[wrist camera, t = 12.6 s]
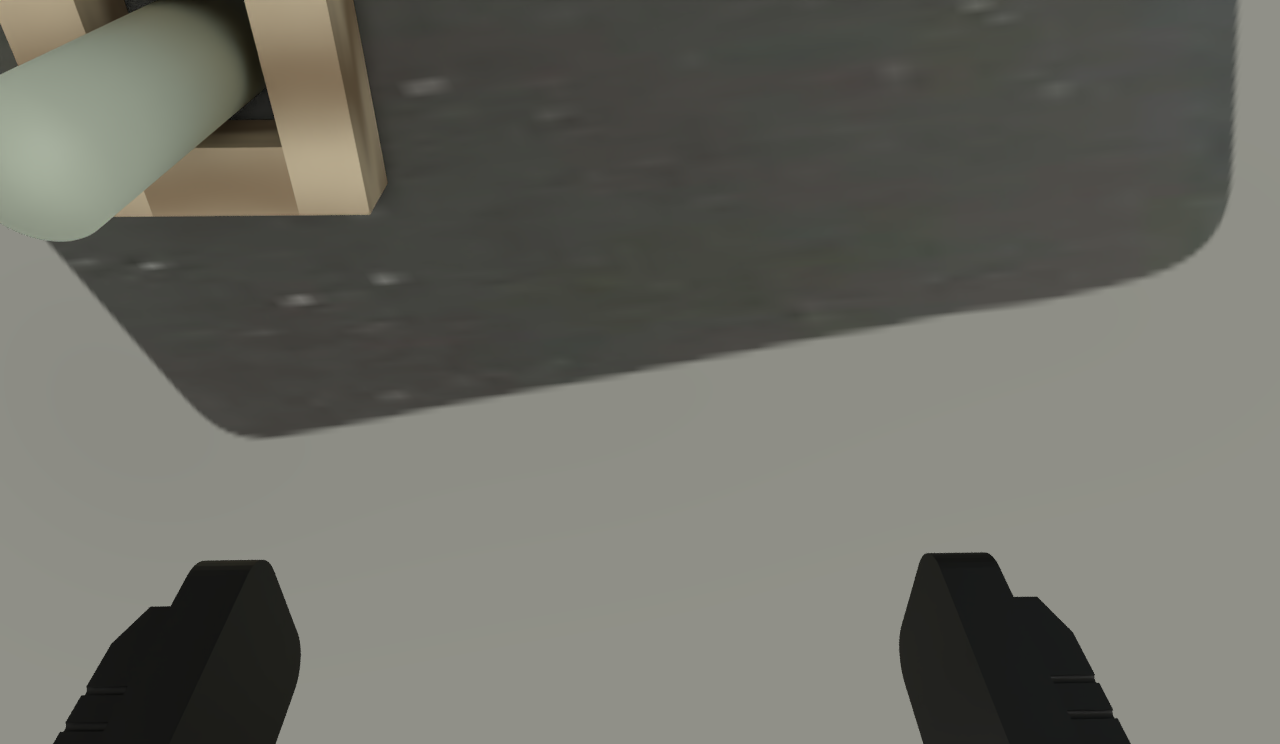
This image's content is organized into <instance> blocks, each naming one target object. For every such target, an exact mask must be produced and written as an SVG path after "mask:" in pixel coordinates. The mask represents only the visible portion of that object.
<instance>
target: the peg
mask: <svg viewBox="0 0 1280 744" xmlns="http://www.w3.org/2000/svg"><path fill="white" fill-rule="evenodd" d="M265 87H266V83H265V79H264V75H263V72H262V68H261V64H260V60H259V56H258V52H257V48H256V44H255V41H254V37H253V33H252V29H251V25H250V21H249V17H248V13H247V10H246V6H245V2H243V1H242V0H157V1H154V2H152V3H150V4H148V5H146V6H144V7H142V8H140V9H138V10H135V11H133V12H131V13H129V14H127V15H125V16H123V17H121V18H119V19H116V20H114V21H112V22H110V23H108V24H106V25H104V26H102V27H100V28H97V29H95V30H93V31H91V32H89V33H87V34H85V35H83V36H81V37H79V38H76V39H74V40H72V41H70V42H68V43H66V44H64V45H62V46H60V47H57V48H55V49H53V50H51V51H49V52H47V53H45V54H43V55H41V56H38V57H36V58H34V59H32V60H30V61H28V62H26V63H24V64H22V65H19V66H17V67H15V68H13V69H11V70H9V71H7V72H5V73H3V74H0V224H3V225H4V226H6V227H7V228H10V229H12V230H14V231H16V232H18V233H21V234H24V235H26V236H29V237H33V238H37V239H41V240H47V241H59V242H62V241H73V240H78V239H81V238H84V237H87V236H89V235H91V234H92V233H94V232H96V231H97V230H98V229H99V228H101V227H102V226H103V225H104V224H105V223H107V222H108V221H109V220H110V219H111V218H112V217H114V216H115V215H116V214H117V213H118V212H119V211H121V210H122V209H123V208H124V207H125V206H127V205H128V204H129V203H130V202H131V201H132V200H134V199H135V198H136V197H137V196H138V195H140V194H141V193H142V192H143V191H144V190H145V189H147V188H148V187H149V186H150V185H151V184H153V183H154V182H155V181H156V180H157V179H158V178H160V177H161V176H162V175H163V174H164V173H166V172H167V171H168V170H169V169H170V168H171V167H173V166H174V165H175V164H176V163H177V162H179V161H180V160H181V159H182V158H183V157H184V156H186V155H187V154H188V153H189V152H190V151H191V150H193V149H194V148H195V147H196V146H197V145H199V144H200V143H201V142H202V141H203V140H204V139H206V138H207V137H208V136H209V135H210V134H212V133H213V132H214V131H215V130H216V129H217V128H219V127H220V126H221V125H222V124H223V123H225V122H226V121H227V120H228V119H229V118H230V117H232V116H233V115H234V114H235V113H236V112H238V111H239V110H240V109H241V108H242V107H243V106H245V105H246V104H247V103H248V102H249V101H251V100H252V99H253V98H254V97H255V96H256V95H258V94H259V93H260V92H261V91H262V90H263V89H264V88H265Z"/></svg>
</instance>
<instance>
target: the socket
mask: <svg viewBox="0 0 1280 744" xmlns="http://www.w3.org/2000/svg"><path fill="white" fill-rule="evenodd" d="M244 2H245V6H246V10H247V13H248V17H249V21H250V25H251V29H252V33H253V37H254V41H255V44H256V48H257V52H258V56H259V60H260V64H261V68H262V72H263V75H264V79H265V83H266V87H267V91H268V95H269V99H270V102H271V106H272V110H273V114H274V118H275V120H227V121H226V122H225V123H223V124H222V125H221V126H220V127H219V128H217V129H216V130H215V131H214V132H213V133H212V134H210V135H209V136H208V137H207V138H206V139H204V140H203V141H202V142H201V143H200V144H199V145H197V146H196V147H195V148H194V149H193V150H191V151H190V152H189V153H188V154H187V155H186V156H184V157H183V158H182V159H181V160H180V161H179V162H177V163H176V164H175V165H174V166H173V167H171V168H170V169H169V170H168V171H167V172H166V173H164V174H163V175H162V176H161V177H160V178H158V179H157V180H156V181H155V182H154V183H153V184H151V185H150V186H149V187H148V188H147V189H145V190H144V191H143V192H142V193H141V194H140V195H138V196H137V197H136V198H135V199H134V200H132V201H131V202H130V203H129V204H128V205H127V206H125V207H124V208H123V209H122V210H121V211H119V212H118V213H117V214H116V215H115V216H114V217H148V216H267V215H370V214H371V212H372V210H373V208H374V207H375V205H376V203H377V201H378V200H379V198H380V196H381V194H382V193H383V191H384V189H385V187H386V185H387V184H388V182H387V177H386V172H385V166H384V161H383V156H382V150H381V145H380V140H379V134H378V129H377V124H376V118H375V113H374V108H373V102H372V97H371V92H370V86H369V81H368V76H367V70H366V65H365V60H364V54H363V49H362V44H361V38H360V33H359V28H358V22H357V17H356V12H355V6H354V1H353V0H244ZM127 14H128V11H127V8H126V5H125V2H124V0H0V24H1V26H2V28H3V31H4V33H5V35H6V38H7V40H8V42H9V45H10V47H11V50H12V52H13V54H14V57H15V59H16V61H17V64H18V66H19V65H22V64H24V63H26V62H28V61H30V60H32V59H34V58H36V57H38V56H41V55H43V54H45V53H47V52H49V51H51V50H53V49H55V48H57V47H60V46H62V45H64V44H66V43H68V42H70V41H72V40H74V39H76V38H79V37H81V36H83V35H85V34H87V33H89V32H91V31H93V30H95V29H97V28H100V27H102V26H104V25H106V24H108V23H110V22H112V21H114V20H116V19H119V18H121V17H123V16H125V15H127Z"/></svg>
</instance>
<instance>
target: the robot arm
mask: <svg viewBox="0 0 1280 744" xmlns="http://www.w3.org/2000/svg"><path fill="white" fill-rule="evenodd" d="M300 652H301V650H300V641H299V636H298V633H297V630H296V628H295V625H294V623H293V620H292V617H291V615H290V613H289V609H288V607H287V604H286V601H285V599H284V596H283V593H282V591H281V588H280V585H279V583H278V580H277V578H276V575H275V572H274V570H273V568H272V566H271V564H270V563H269V562H267V561H266V560H221V561H201V562H199V563H197V564H196V565H195V566H194V567H193V568H192V569H191V571H190V572H189V574H188V575H187V577H186V579H185V581H184V583H183V585H182V586H181V588H180V590H179V592H178V594H177V596H176V597H175V599H174V601H173V603H172V605H171V606H167V607H150V608H149V609H148V610H147V611H146V612H144V613H143V614H142V615H141V616H140V617H139V618H138V619H137V620H136V621H135V622H134V623H133V624H132V625H131V626H130V627H129V628H128V629H127V630H126V631H125V632H123V633H122V634H121V635H120V636H119V637H118V638H117V639H116V640H115V641H114V642H113V643H112V644H111V645H110V647H109V649H108V651H107V653H106V654H105V656H104V658H103V659H102V661H101V663H100V665H99V666H98V668H97V670H96V671H95V673H94V675H93V676H92V678H91V680H90V682H89V683H88V685H87V692H86V694H85V695H83V696H81V697H80V699H79V700H78V702H77V704H76V706H75V707H74V709H73V711H72V712H71V714H70V716H69V717H68V719H67V721H66V729H65V731H64V732H60V733H59V735H58V736H57V738H56V740H55V742H54V743H53V744H276V741H277V738H278V735H279V733H280V730H281V727H282V724H283V721H284V718H285V716H286V713H287V710H288V707H289V705H290V702H291V699H292V696H293V693H294V690H295V687H296V684H297V680H298V676H299V670H300V657H301V653H300ZM899 652H900V663H901V669H902V674H903V678H904V682H905V685H906V689H907V691H908V695H909V698H910V702H911V705H912V708H913V711H914V715H915V718H916V721H917V724H918V728H919V731H920V734H921V737H922V741H923V744H1131V743H1130V742H1129V740H1128V738H1127V736H1126V734H1125V732H1124V730H1123V728H1122V726H1121V724H1120V722H1119V720H1118V719H1117V718H1114V717H1113V713H1112V710H1113V709H1112V707H1111V705H1110V703H1109V701H1108V699H1107V697H1106V695H1105V693H1104V692H1103V690H1102V688H1101V686H1100V684H1099V683H1096V682H1095V679H1094V675H1095V674H1094V672H1093V670H1092V668H1091V666H1090V664H1089V663H1088V661H1087V659H1086V657H1085V655H1084V653H1083V651H1082V649H1081V647H1080V645H1079V644H1078V641H1077V640H1076V638H1075V636H1074V634H1073V632H1072V631H1071V630H1070V629H1069V628H1068V627H1067V626H1066V625H1065V624H1064V623H1063V622H1062V621H1061V620H1060V619H1059V618H1058V617H1057V616H1056V615H1055V614H1054V613H1053V612H1052V611H1051V610H1050V609H1049V608H1048V607H1047V606H1046V605H1045V604H1044V603H1043V602H1042V601H1041V600H1040V599H1039V598H1038V597H1013V595H1012V593H1011V591H1010V589H1009V586H1008V584H1007V582H1006V581H1005V578H1004V576H1003V574H1002V572H1001V569H1000V567H999V565H998V564H997V562H996V560H995V559H994V558H993V557H992V556H991V555H990V554H988V553H927V554H924V555H923V556H922V558H921V560H920V563H919V566H918V570H917V573H916V577H915V581H914V584H913V587H912V591H911V594H910V598H909V601H908V605H907V609H906V612H905V615H904V619H903V622H902V626H901V630H900V639H899Z"/></svg>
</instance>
